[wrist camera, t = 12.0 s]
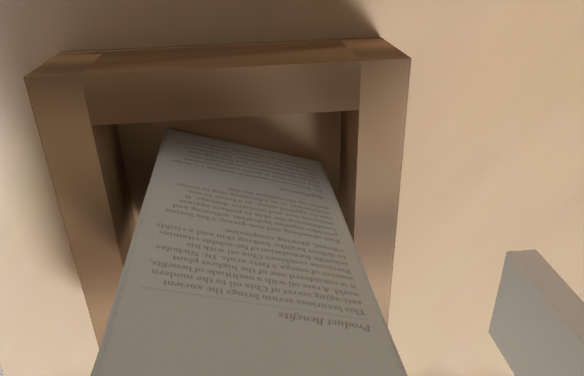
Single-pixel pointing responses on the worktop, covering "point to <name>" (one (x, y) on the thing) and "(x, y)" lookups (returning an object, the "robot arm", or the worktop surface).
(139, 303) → the skincare box
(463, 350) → the worktop surface
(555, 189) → the worktop surface
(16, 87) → the worktop surface
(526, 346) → the robot arm
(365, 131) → the rectangular wooden frame
